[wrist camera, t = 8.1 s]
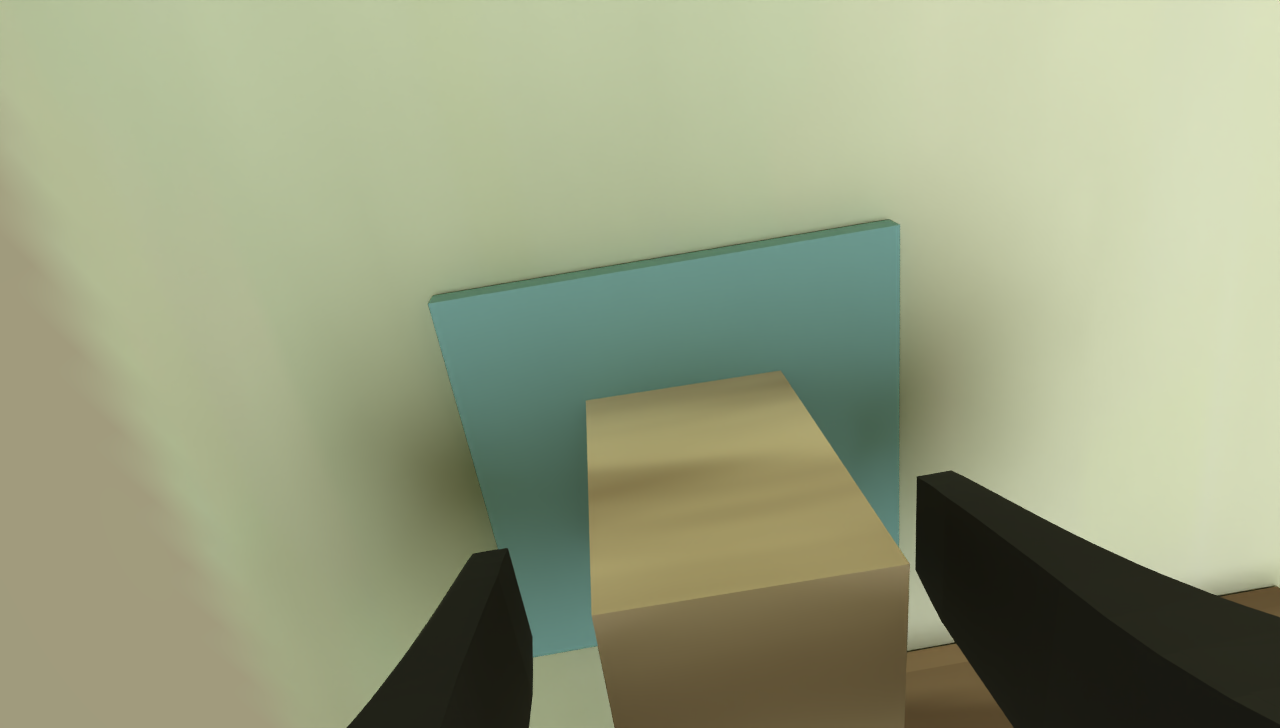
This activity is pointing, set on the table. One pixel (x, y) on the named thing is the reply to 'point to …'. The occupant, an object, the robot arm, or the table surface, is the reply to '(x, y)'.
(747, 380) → the maple block
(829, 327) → the teal mat
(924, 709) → the walnut crate
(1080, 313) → the table surface
